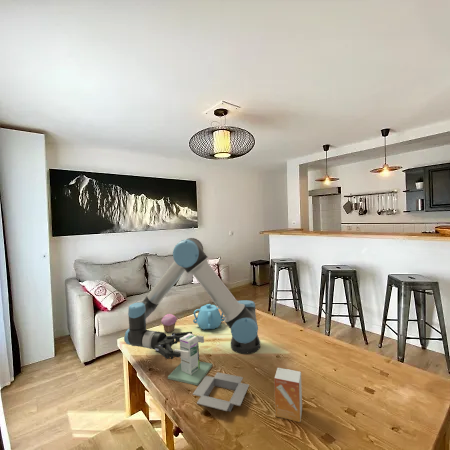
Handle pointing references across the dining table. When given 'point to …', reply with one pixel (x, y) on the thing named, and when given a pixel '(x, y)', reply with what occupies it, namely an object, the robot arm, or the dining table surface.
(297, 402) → the small box
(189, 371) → the syrup box
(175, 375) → the mat
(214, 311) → the decorative pot
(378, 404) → the dining table surface
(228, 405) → the grey open box frame
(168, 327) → the cupcake
